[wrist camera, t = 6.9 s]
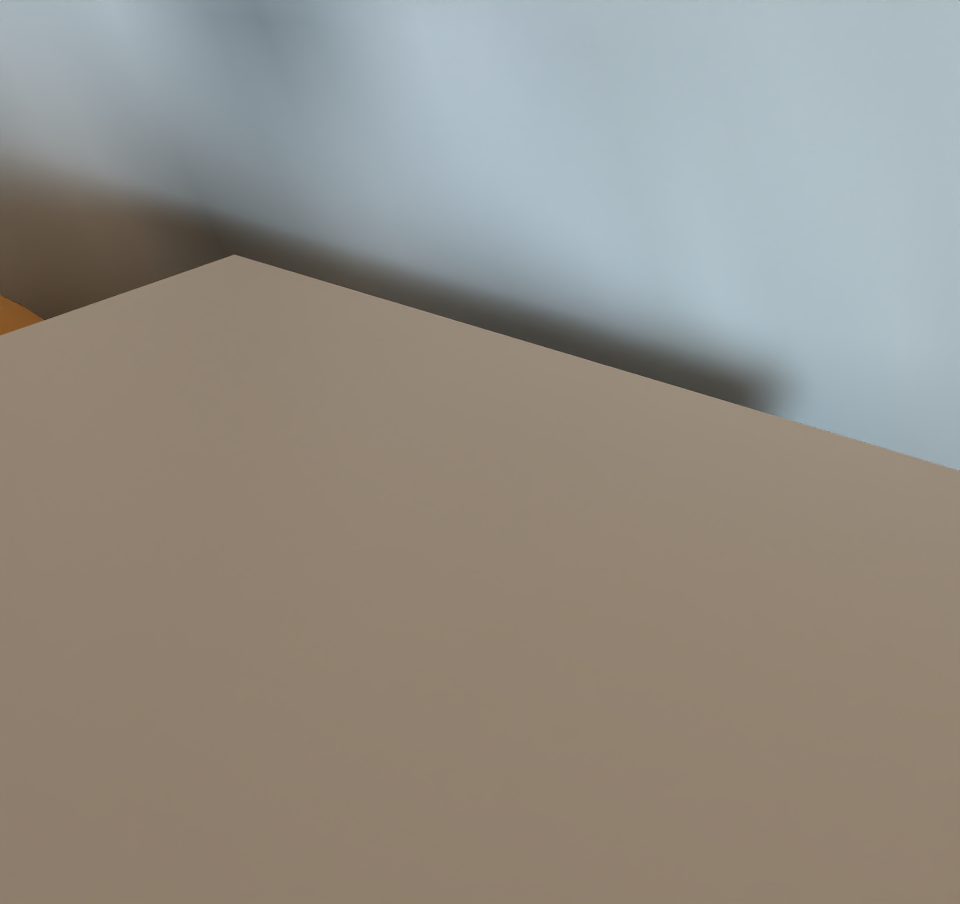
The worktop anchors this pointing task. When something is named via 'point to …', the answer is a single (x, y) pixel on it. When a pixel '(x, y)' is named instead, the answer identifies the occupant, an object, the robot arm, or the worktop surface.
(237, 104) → the worktop surface
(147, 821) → the beige cardboard box
